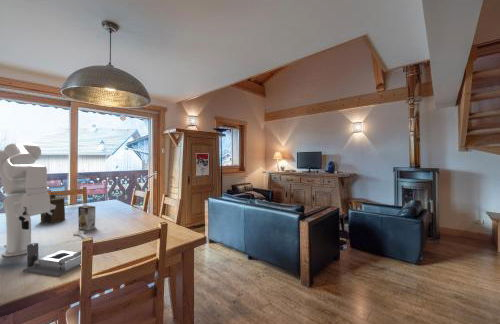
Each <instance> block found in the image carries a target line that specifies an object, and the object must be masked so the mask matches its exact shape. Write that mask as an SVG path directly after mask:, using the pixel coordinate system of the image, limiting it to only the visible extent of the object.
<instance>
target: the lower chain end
mask: <svg viewBox="0 0 500 324" xmlns="http://www.w3.org/2000/svg"><path fill="white" fill-rule="evenodd" d="M61 258H63V257H60V258H57V259H61ZM34 267H38V268H45V269H53V270H61V266H55V265H47V264H40V263H39V260H37V261H35V262H34Z"/></svg>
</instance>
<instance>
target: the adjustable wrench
mask: <svg viewBox="0 0 500 324" xmlns="http://www.w3.org/2000/svg"><path fill="white" fill-rule="evenodd" d="M72 236H73V237H81V238H82V239H83V238H85V237H89V236H88V235H86V234H85V230H78V232H73V233H72Z"/></svg>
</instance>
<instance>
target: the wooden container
mask: <svg viewBox="0 0 500 324" xmlns="http://www.w3.org/2000/svg"><path fill="white" fill-rule="evenodd" d="M49 198H50V204H53V205H56V207H55V209H54V212H53V213H52V215H51V223H50V224H53V223H59V222H62V221H64V220H66V209H65V208H66V206H65V205H66V204H65V197H63V196H56V194H55V193H50V194H49ZM50 209H51V207H50ZM44 215H46V214H44V213H43V214H40V223H41V224H45V223H44Z"/></svg>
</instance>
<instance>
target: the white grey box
mask: <svg viewBox="0 0 500 324" xmlns="http://www.w3.org/2000/svg"><path fill="white" fill-rule="evenodd" d="M81 251H82V250H79V251H77V252H76V251H69V250H59V251H57V252H56V251H55V252H54V253H51V254H48V255H46V256H44V257H41V258H39V263H40V264H47V265H55V266H61V271H67V270H69V269H71V268H73V267H75V266H77V265H79V264H81ZM60 257H63V258H61V259H57V258H60Z"/></svg>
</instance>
